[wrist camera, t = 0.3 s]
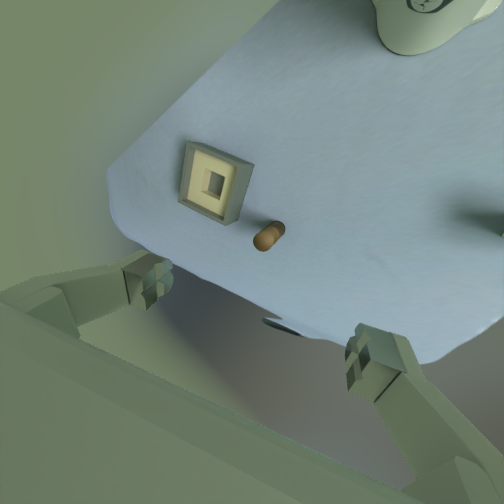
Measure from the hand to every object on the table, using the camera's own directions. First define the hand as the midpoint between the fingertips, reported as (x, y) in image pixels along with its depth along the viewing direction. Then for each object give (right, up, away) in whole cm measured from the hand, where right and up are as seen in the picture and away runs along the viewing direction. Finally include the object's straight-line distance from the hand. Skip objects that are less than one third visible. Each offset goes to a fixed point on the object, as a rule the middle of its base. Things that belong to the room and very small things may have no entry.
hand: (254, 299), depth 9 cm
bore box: (-9, +22, +50) cm, 55 cm away
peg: (+7, +8, +48) cm, 49 cm away
